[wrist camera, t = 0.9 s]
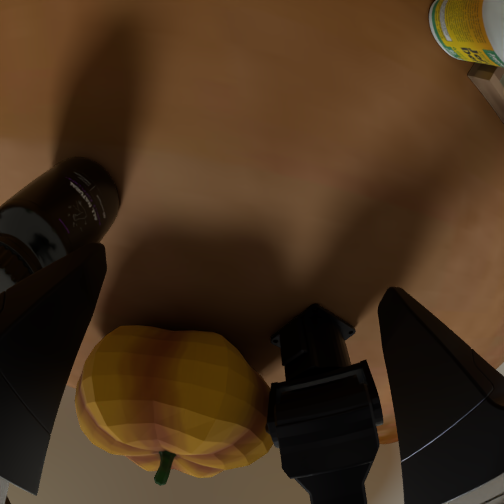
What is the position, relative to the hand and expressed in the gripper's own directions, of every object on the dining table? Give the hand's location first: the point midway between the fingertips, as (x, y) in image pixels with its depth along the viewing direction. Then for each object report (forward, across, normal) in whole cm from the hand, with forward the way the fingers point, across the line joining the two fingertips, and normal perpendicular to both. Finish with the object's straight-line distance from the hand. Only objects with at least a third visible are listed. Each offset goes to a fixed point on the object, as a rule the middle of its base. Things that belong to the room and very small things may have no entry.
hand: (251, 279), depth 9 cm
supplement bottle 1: (+14, +12, +5) cm, 19 cm away
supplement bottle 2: (+14, -12, -14) cm, 23 cm away
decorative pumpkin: (+14, +4, +24) cm, 28 cm away
